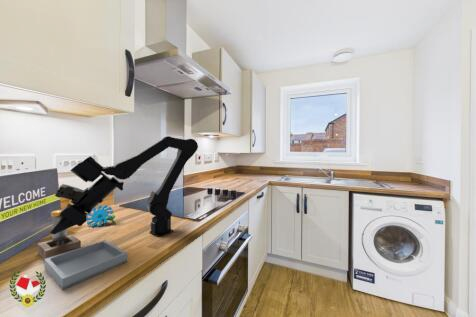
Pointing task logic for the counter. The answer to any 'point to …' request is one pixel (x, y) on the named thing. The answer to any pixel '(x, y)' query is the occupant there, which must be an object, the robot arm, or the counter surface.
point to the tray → (84, 263)
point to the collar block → (58, 247)
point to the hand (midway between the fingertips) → (53, 231)
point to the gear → (100, 216)
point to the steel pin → (60, 236)
